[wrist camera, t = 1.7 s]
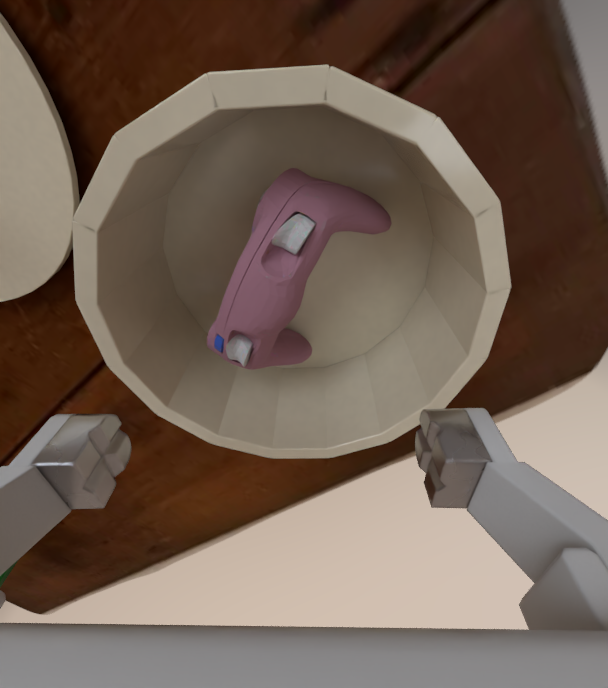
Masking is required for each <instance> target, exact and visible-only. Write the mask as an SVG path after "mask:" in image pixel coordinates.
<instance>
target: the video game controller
mask: <svg viewBox="0 0 608 688" xmlns="http://www.w3.org/2000/svg"><path fill="white" fill-rule="evenodd" d="M391 224H392V223H391V217H390V216H389V214H388V212H387V211H386V210H385V209H384V208H383V207H382V205H381V204H379V203H378V202H377V201H375V200H374V199H373V198H371V197H370V196H368V195H366V194H364V193H362V192H360V191H357V190H355V189H353V188H351V187H348V186H344V185H341V184H338V183H334V182H330V181H326V180H322V179H318V178H314V177H311V176H309V175H307V174H306V173H304V172H302V171H301V170H299V169H297V168H290V169H288V170H286V171H284V172H283V173H282V174H280V175H279V176H278V178H277V179H276V180H275V181H274V182H273V183H272V185H271V186H270V187H269V188H268V189H267V190H266V191H264V193H263V194H262V195H261V197H260V199H259V201H258V205H257V210H256V213H255V217H254V221H253V224H252V235H251V237H250V239H249V241H248V243H247V245H246V247H245V249H244V251H243V253H242V254H241V256H240V258H239V260H238V263H237V265H236V267H235V270H234V272H233V274H232V277H231V279H230V282H229V284H228V286H227V289H226V292H225V295H224V298H223V301H222V304H221V307H220V310H219V314H218V317H217V318H216V320H215V321H214V323H213V324H212V326H211V328H210V330H209V332H208V336H207V346H208V348H209V349H211V350H212V351H213V352H215V353H216V354H218V355H219V356H220V357H222V358H223V359H224V360H225V361H227V362H229V363H231V364H233V365H236V366H239V367H242V368H245V369H250V370H254V369H260V368H265V367H269V366H283V365H293V364H299V363H302V362H304V361H305V360H307V359H308V358H309V357H310V356H311V354H312V347H311V345H310V343H309V341H308V340H307V339H306V338H304V337H303V336H302V335H301V334H299V333H297V332H295V331H293V330H290V329H287V328H285V327H286V326H287V325H288V324H289V323H290V321H291V320H292V319H293V318H294V317H295V315H296V313H297V311H298V310H299V308H300V306H301V302H302V298H303V295H304V291H305V286H306V282H307V279H308V277H309V276H310V274H311V272H312V270H313V269H314V267H315V265H316V263H317V262H318V260H319V258H320V256H321V254H322V252H323V250H324V248H325V246H326V244H327V242H328V241H329V239H330V237H331V235H332V234H334V233H335V232H341V231H352V232H359V233H366V234H372V235H373V234H378V233H382V232H386V231H387V230H389V229H390V226H391Z"/></svg>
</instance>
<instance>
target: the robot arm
mask: <svg viewBox="0 0 608 688" xmlns="http://www.w3.org/2000/svg"><path fill="white" fill-rule="evenodd" d="M419 421H420V424H421V428H420V429H419V430H418V431H417V432H416V438H415V451H416V457H417V461H418V464H419V467H420V468H421V469H422V470H423V471H424V472H425V473H426V477H425V481H424V484H425V488H426V490H427V494H428V497H429V500H430V504H431V507H437V508H467V511H468V512H469V513H470V514H471V515H472V516H473V517H474V518H475V519H476V521H478V523H479V524H480V525H481V526H482V527H483V528H484V529H485V530H486V531H487V533H489V535H490V536H491V537H492V538H493V539H494V540H495V541H496V542H497V543H498V544H499V545H500V547H502V549H503V550H504V551H505V552H506V553H507V554H508V555H509V556H510V557H511V558H512V559H513V560H514V561H515V563H516V564H517V565H518V566H519V567H520V568H521V569H522V570H523V571H524V572H525V573H526V574H527V576H528V577H529V578H530V579H531V580H532V581H533V582H534V583H535V584H534V585H533V586H532V587H531V589H530V590H529V591H528V592H527V593H526V594H525V596H524V597H523V598H522V600H521V602H520V604H519V606H520V609H521V611H522V613H523V616H524V618H525V621H526V623H527V626H528V628H529V630H510V629H507V630H506V629H432V628H429V629H428V628H354V627H350V628H349V627H279V626H278V627H276V626H275V627H274V626H200V625H198V626H197V625H196V626H195V625H125V624H123V625H122V624H119V625H118V624H47V623H39V624H38V623H0V688H608V520H607V519H605V518H604V517H602V516H601V515H599V514H598V513H597V512H595V511H594V510H592V509H591V508H589V507H588V506H586V505H585V504H584V503H582V502H581V501H579V500H578V499H576V498H575V497H574V496H572V495H571V494H569V493H568V492H566V491H565V490H564V489H562V488H561V487H559V486H558V485H557V484H555V483H553V482H552V481H551V480H549V479H548V478H547V477H545V476H543V475H542V474H541V473H539V472H538V471H537V470H535V469H534V468H532V467H531V466H529V465H528V464H526V463H525V462H518V461H517V460H516V458H515V456H514V455H513V453H512V451H511V450H510V448H509V446H508V445H507V443H506V441H505V440H504V438H503V437H502V435H501V433H500V431H499V430H498V428H497V426H496V425H495V423H494V421H493V420H492V418H491V416H490V415H489V413H488V411H487V410H485V409H484V408H463V409H461V408H455V409H423V410H422V412H421V414H420V418H419ZM120 426H121V422H120V420H119V419H118V417H117V415H112V414H57V415H55V416H53V417H51V418H50V419H49V420H48V421H47V422H46V423H45V425H44V426H43V427H42V428H41V429H40V430H39V431H38V433H37V434H36V435H35V436H34V437H33V438H32V439H31V441H30V442H29V443H28V444H27V445H26V446H25V447H24V449H23V450H22V451H21V452H20V453H19V454H18V456H17V457H16V458H15V459H14V460H13V461H12V462H11V464H10V465H9V466H2V467H0V576H1V575H2V574H3V573H4V572H5V571H6V570H7V569H8V568H10V567H11V566H12V565H13V564H14V563H15V562H16V561H17V560H18V559H19V558H21V557H22V556H23V555H24V554H25V553H26V552H27V551H28V550H29V549H30V548H31V547H33V546H34V545H35V544H36V543H37V542H38V541H39V540H40V539H41V538H42V537H44V536H45V535H46V534H47V533H48V532H49V531H50V530H51V529H52V528H53V527H54V526H56V525H57V524H58V523H59V522H60V521H61V520H62V519H63V518H64V517H65V516H67V515H68V514H69V513H70V512H71V509H92V508H104V507H105V505H106V503H107V501H108V499H109V497H110V495H111V494H112V492H113V490H114V488H115V486H116V480H115V476H116V475H118V474H119V473H120V472H122V471H123V470H124V469H125V467H126V465H127V463H128V461H129V459H130V453H131V443H130V439H129V437H128V435H127V434H125V433H124V432H122V431H121V430H119V428H120ZM5 600H6V599H5V593H3V592H2V591H0V608H1V607H2V605H3V603H4V602H5Z"/></svg>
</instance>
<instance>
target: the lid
mask: <svg viewBox="0 0 608 688" xmlns="http://www.w3.org/2000/svg"><path fill="white" fill-rule="evenodd" d="M79 204H80V199H79V189H78V178H77V173H76V168H75V164H74V159H73V155H72V150H71V147H70V144H69V141H68V138H67V135H66V132H65V129H64V126H63V123H62V120H61V118H60V116H59V114H58V111H57V109H56V107H55V104H54V102H53V100H52V98H51V95H50V93H49V91H48V89H47V87H46V85H45V83H44V82H43V80H42V78H41V76H40V74H39V72H38V70H37V69H36V67H35V65H34V63H33V61H32V59H31V58H30V56H29V54H28V53H27V51H26V50H25V48H24V47H23V45H22V44H21V42H20V41H19V39H18V38H17V36H16V35H15V33H14V31H13V30H12V28H11V27H10V25H9V24H8V22H7V21H6V20H5V18H4V17H3V16H2V14H1V13H0V302H3V301H7V300H11V299H16V298H19V297H21V296H24V295H26V294H28V293H31V292H33V291H34V290H36V289H38V288H39V287H40V286H42V285H43V284H45V283H46V282H48V281H49V280H50V279H51V278H52V277H53V276H54V275H55V274H56V273H57V272H58V271H59V270H60V269H61V267H62V266H63V264H64V263H65V261H66V260H67V258H68V257H69V254H70V252H71V249H72V247H73V231H72V220H73V217H74V215H75V213H76V211H77V209H78V206H79Z"/></svg>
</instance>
